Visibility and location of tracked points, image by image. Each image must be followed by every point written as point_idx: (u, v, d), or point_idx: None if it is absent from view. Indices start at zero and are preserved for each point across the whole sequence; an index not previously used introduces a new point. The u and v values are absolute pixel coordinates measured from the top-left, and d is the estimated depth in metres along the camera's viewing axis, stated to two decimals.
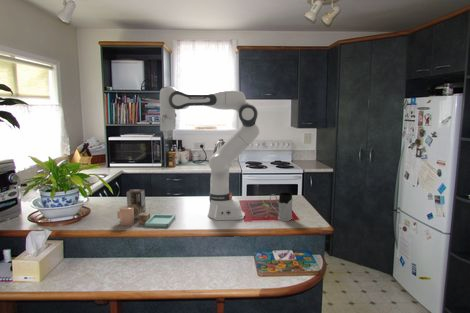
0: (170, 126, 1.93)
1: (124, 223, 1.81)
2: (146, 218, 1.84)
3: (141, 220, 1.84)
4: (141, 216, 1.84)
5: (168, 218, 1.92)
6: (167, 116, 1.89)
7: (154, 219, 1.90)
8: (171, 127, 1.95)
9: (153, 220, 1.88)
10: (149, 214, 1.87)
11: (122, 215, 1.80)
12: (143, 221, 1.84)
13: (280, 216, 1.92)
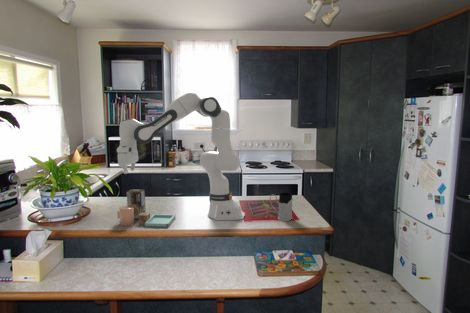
0: None
1: (124, 223, 1.81)
2: (146, 218, 1.84)
3: (141, 220, 1.84)
4: (141, 216, 1.84)
5: (168, 218, 1.92)
6: None
7: (154, 219, 1.90)
8: None
9: (153, 220, 1.88)
10: (149, 214, 1.87)
11: (122, 215, 1.80)
12: (143, 221, 1.84)
13: (280, 216, 1.92)
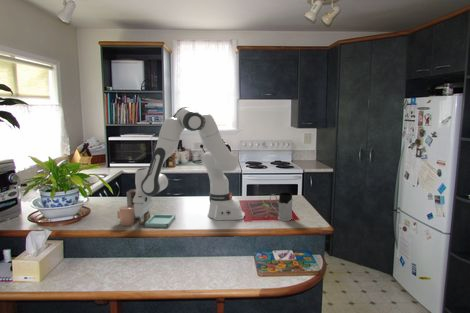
0: None
1: (124, 223, 1.81)
2: (146, 218, 1.84)
3: None
4: None
5: (168, 218, 1.92)
6: None
7: (154, 219, 1.90)
8: None
9: (153, 220, 1.88)
10: (149, 214, 1.87)
11: (122, 215, 1.80)
12: None
13: (280, 216, 1.92)
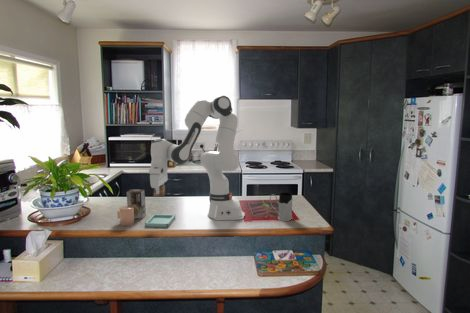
0: None
1: (124, 223, 1.81)
2: (161, 190, 1.82)
3: None
4: None
5: (168, 218, 1.92)
6: None
7: (154, 219, 1.90)
8: None
9: (153, 220, 1.88)
10: (164, 187, 1.85)
11: (122, 215, 1.80)
12: None
13: (280, 216, 1.92)
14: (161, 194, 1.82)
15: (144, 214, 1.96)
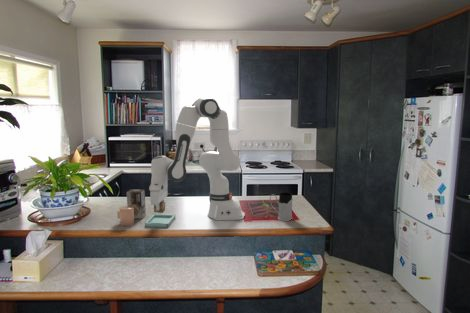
0: None
1: (124, 223, 1.81)
2: (161, 207, 1.83)
3: None
4: None
5: (168, 218, 1.92)
6: None
7: (154, 219, 1.90)
8: None
9: (153, 220, 1.88)
10: (164, 203, 1.87)
11: (122, 215, 1.80)
12: (158, 210, 1.83)
13: (280, 216, 1.92)
14: (161, 210, 1.83)
15: (144, 214, 1.96)
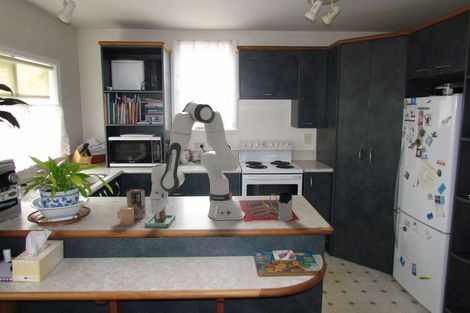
0: None
1: (124, 223, 1.81)
2: (162, 217, 1.84)
3: (157, 219, 1.84)
4: None
5: (168, 218, 1.92)
6: None
7: None
8: None
9: (153, 220, 1.88)
10: (164, 213, 1.87)
11: (122, 215, 1.80)
12: (159, 220, 1.84)
13: (280, 216, 1.92)
14: (162, 220, 1.84)
15: (144, 214, 1.96)
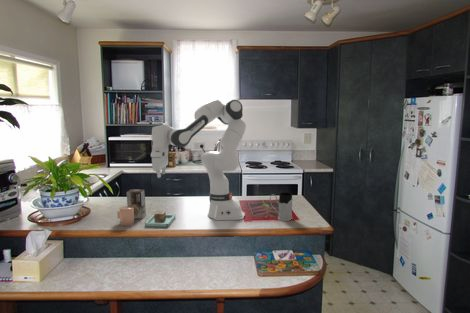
0: None
1: (124, 223, 1.81)
2: (162, 217, 1.84)
3: (157, 219, 1.84)
4: (157, 215, 1.84)
5: (168, 218, 1.92)
6: None
7: None
8: None
9: (153, 220, 1.88)
10: (164, 213, 1.87)
11: (122, 215, 1.80)
12: (159, 220, 1.84)
13: (280, 216, 1.92)
14: (162, 220, 1.84)
15: (144, 214, 1.96)
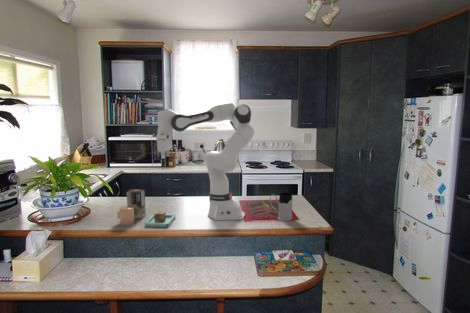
0: None
1: (124, 223, 1.81)
2: (162, 217, 1.84)
3: (157, 219, 1.84)
4: (157, 215, 1.84)
5: (168, 218, 1.92)
6: None
7: None
8: None
9: (153, 220, 1.88)
10: (164, 213, 1.87)
11: (122, 215, 1.80)
12: (159, 220, 1.84)
13: (280, 216, 1.92)
14: (162, 220, 1.84)
15: (144, 214, 1.96)
